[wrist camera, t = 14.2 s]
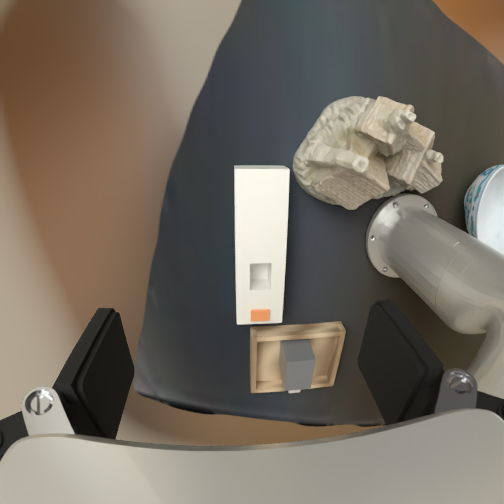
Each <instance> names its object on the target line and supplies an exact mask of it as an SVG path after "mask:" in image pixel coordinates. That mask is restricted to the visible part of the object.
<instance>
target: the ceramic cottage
mask: <svg viewBox="0 0 504 504" xmlns="http://www.w3.org/2000/svg"><path fill="white" fill-rule="evenodd" d="M413 112H414V107H413V106H412V105H405V104H401V103H398V102H395V101H393V100H391V99H388V98H386V97H380V96H379V97H378V98H377V100H373V99H370V98H363V97H357V96H352V97H347V98H343V99H340V100H338V101H335V102H333V103H332V104H330V105H329V106H327V107H326V108H325V109H324V110H323V112H322V114H321V115H320V117H319V118H318V120H317V122H316V123H315V124H314V126H313V128H312V129H311V130H310V131H309V133H308V134H307V136H306V138H305V140H304V141H303V142H302V143H301V145H300V147H299V149H298V150H297V151H296V153H295V156H294V160H293V167H292V168H293V172H294V175H295V178H296V180H297V182H298V183H299V186H300V187H301V188H302V189H304V190H305V191H306V192H307V193H308V194H310V195H311V196H313V197H315V198H317V199H319V200H321V201H323V202H326V203H329V204H332V205H341V206H343V207H344V208H346V209H348V210H355V209H356V208H357V207H358V206H360V205H362V204H363V203H365V202H366V201H368V200H370V199H379V198H382V197H389V196H395V195H396V194H399V193H400V192H402V191H404V190H405V189H407V190H408V189H409V190H411V191H412V190H413V189H414V190H415V189H416V190H418V191H419V192H420V193H421V194H422V193H424V192H426V191H428V190H430V189H432V188H434V187H436V186H438V185H439V184H440V183H441V182H442V181H443V180H442V176H441V170H442V169H441V163H442V162H443V155H442V154H441V153H439V152H435V151H433V150H431V149H432V146H433V142H434V139H435V132H433V131H432V130H430V129H428V128H425V127H423V126H421V125H420V124H418V123H416V122H414V120H415V119H416V115H415V114H414V113H413Z"/></svg>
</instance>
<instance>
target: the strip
mask: <svg viewBox="0 0 504 504" xmlns="http://www.w3.org/2000/svg"><path fill="white" fill-rule="evenodd" d="M289 173H290V169H288V168H287V167H285V166H258V165H249V166H234V198H235V274H236V316H237V324H265V323H282V314H283V299H284V283H285V266H286V247H287V226H288V202H289Z"/></svg>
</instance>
